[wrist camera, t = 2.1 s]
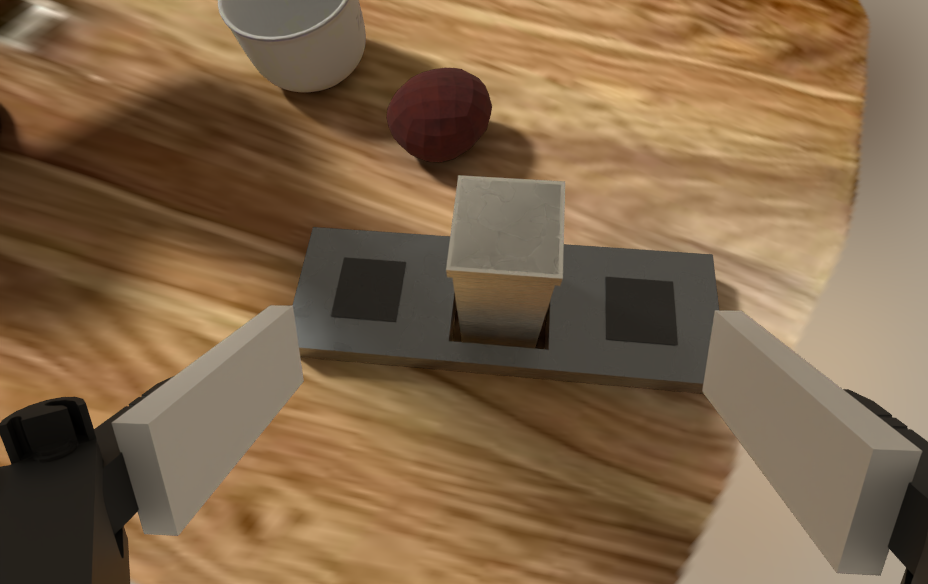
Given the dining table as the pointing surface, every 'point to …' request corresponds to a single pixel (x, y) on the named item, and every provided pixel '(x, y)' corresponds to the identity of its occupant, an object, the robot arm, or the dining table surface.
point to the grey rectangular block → (505, 257)
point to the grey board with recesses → (564, 358)
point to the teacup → (299, 39)
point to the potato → (439, 114)
